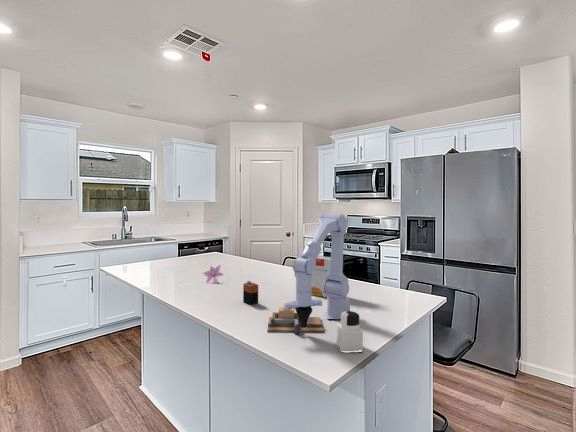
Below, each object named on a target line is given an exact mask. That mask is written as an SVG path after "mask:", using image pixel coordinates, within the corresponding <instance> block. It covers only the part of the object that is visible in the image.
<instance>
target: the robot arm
mask: <svg viewBox="0 0 576 432" xmlns="http://www.w3.org/2000/svg"><path fill="white" fill-rule="evenodd" d="M347 225H348V219H347V218H346V216H345V215H344V214H343V213H340V214H338V213H337V214H334V213H322V214H321V215H320V217H319V219H318V228H317V231H316V233H315V235H314V236H313V239H312V241H308V242H307V244H306V246H305V247H304V249H303V251H302V253H301V255H300V256H298V257H296V258H295V259H294V261H293V264H292V270H293V272H294V277H295V300H293V301H289V302H284V303H283V307H284V309H285V310H289V309H294V311H295V313H297V314H298V317H299V320H300V326H301V327H302V328H305V327H306V325H307V321H308V318H309V317H311V314H312V312H313V308H312V307H321V306H322V307H323V300H322V299H320V298H319V299H312V295H311V288H312V273H313V272H314V270H315V264H316V259H317V257H318V256H320V253H321V252H322V246H321V245H322V244H323V243H324V242H325V239H327V237H328V235H330V236H331V246H330V247H331V248H330V257H331V264H330V273H329V274H328V275H327V276H325V281H324V284H323V290H324V292H325V293H326V296H327V297H326V312H324V314H325V317H326V320H328V319H341V313H342V312H345V311H351V301H350V300H351V299H350V297H349V296H348V295H349V291H350V285H349V278H348V277H347V276H345V274H344V272H343V273H342V269H343V270H344V244H345V243H344V242H345V235H346V234H347V228H348V227H347Z"/></svg>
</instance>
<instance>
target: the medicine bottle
mask: <svg viewBox="0 0 576 432" xmlns="http://www.w3.org/2000/svg"><path fill="white" fill-rule="evenodd" d="M336 326H337V327H336V329H337V330H336V332H337V333H336V345H337V344H338V345H337V347H338V346H339V347H338V349H339V348H340V350H339V351H355V350H356V351H358V350H362V351H363V345H364V344H363V342H364V340H363V339H364V338H363V337H364V331H363V330H362V328H361V327H360V314H359V313H358V312H355V311H351V310H350V311H345V312H342V313H341V320H340V323H337V325H336Z"/></svg>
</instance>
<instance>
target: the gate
mask: <svg viewBox="0 0 576 432" xmlns="http://www.w3.org/2000/svg"><path fill="white" fill-rule="evenodd" d="M275 323H295V324H294V332H293V333H294V334H295V335H298V334H300V332H299V324H298V319H275Z"/></svg>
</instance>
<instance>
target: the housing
mask: <svg viewBox="0 0 576 432" xmlns="http://www.w3.org/2000/svg"><path fill="white" fill-rule="evenodd" d="M268 317H269V318H268V323H267V333H294V324H295V323H275V319H279V311H278V312H277V311H276V312H275V311H273V312H272V316H268ZM294 319H298V324H299V333H319V332H324V326H323V325H324V323H322V320H321V317H319V316H316V317H315V316H309V318H308V321H307V325H306V327H305V328H302V327H301V326H300V320H299V317H298V314H297V312H294Z"/></svg>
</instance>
